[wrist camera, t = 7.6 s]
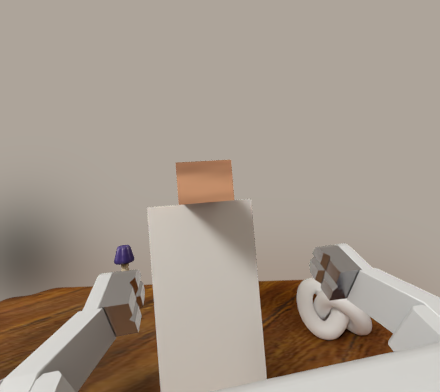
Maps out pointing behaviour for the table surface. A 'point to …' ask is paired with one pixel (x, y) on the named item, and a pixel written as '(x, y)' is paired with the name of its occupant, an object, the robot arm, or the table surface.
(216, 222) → the white stand
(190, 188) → the orange bar
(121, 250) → the toy lamp
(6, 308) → the table surface
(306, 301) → the white knot
